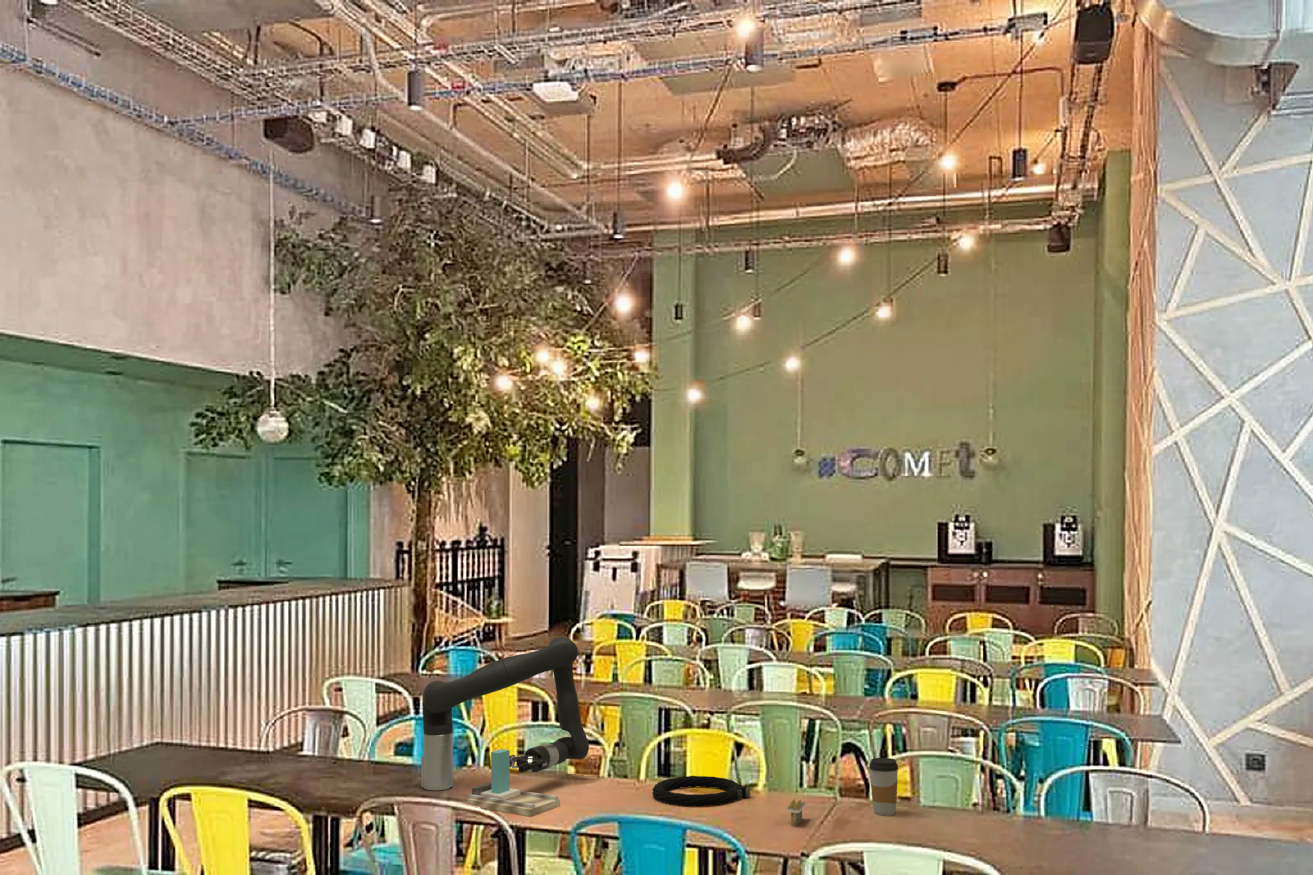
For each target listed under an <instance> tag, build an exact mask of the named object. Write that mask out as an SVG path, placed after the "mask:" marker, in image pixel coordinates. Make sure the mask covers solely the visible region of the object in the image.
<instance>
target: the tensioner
mask: <svg viewBox="0 0 1313 875" xmlns="http://www.w3.org/2000/svg"><path fill="white" fill-rule="evenodd" d="M510 753H511V752H510V749H504V748H501V749H498V750H494V751H490V765H491V766H490V779H491V781H490V782H491V790H488V791H485V792H482V793H481V796H485V797H491V798H497V799H504V800H507V799H510V798H513V797H515V796H518V795H520V791H521V789H518V788H511V785H510V784H511V783H510V780H511V779H510V778H511V776H510V774H511V773H510V770H511V769H510V768H511V767H510V756H511V755H510Z"/></svg>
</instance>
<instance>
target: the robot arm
mask: <svg viewBox="0 0 1313 875" xmlns="http://www.w3.org/2000/svg"><path fill="white" fill-rule="evenodd" d="M578 655H579V650H578V647H577V644H576V643H575V642H574V641H573V640H572V639H570V638H568V637H565V636H557V637H555V638H553V639H552V640H551V641H550V642H549V644H548V645H546V646H545V647H542V648H540V649H538V650H535V651H533V652H532V651H531V652H527V653H520V654H515V655H511V656H507V657H503V658H500V659H497V660H495V661H492V662H490V663H487V664H485V665H483V666H481V667H479V668H478V669H476V670H474V671H472V672H471V673H469V674H468V675H465V676H464V677H461V678H457V679H455V680H451V681H446V682H445V681H442V680H435V681H431V682H429V683H428V684H427V685H426V686H425V688H424V689H423V693H422V723H423V724H422V727H423V728H422V730H423V732H422V733H423V756H421V759H420V765H421V769H420V770H421V771H420V772H421V773H420V774H421V775H420V776H421V777H420V779H421V780H420V782H421V784H420V786H421V788H423V789H424V790H428V791H444V790H449V788H450V787H452V788H453V787H454V735H453V734H454V730H453V729H454V724H453V708H454V707H456V706H458V705H461V704H462V703H463V704H464V702H466V701H469V700H472V699H475V698H479V697H482V696H486V695H489V694H492V693H496V692H498V691H502V690H504V689H507V688H510V687H512V686H514V685H517V684H520V683H522V682H524V681H527V680H529V679H532V678H533V677H535V676H537V675H540V674H542V673H546V672H549V671H552V673H553V678H554V683H555V691H556V692H555V693H556V703H557V713H558V714H557V715H558V722H559V723H558V725H559V727H560V729H561V730H562V731H565V732H567V733H569V735H570V736H562V737H560V738H558V739H556V740H555V741H554V742H553V741H552V742H549V743H544V744H540V745H537V746H534V747H530V748H528V749H527V750H525V752H524V754H520V755H517V756H516V755H515V754H512V755H510V768H511V769H514V770H515V769H518V773H520V774H522V773H526V772H531V773H538V772H542V771H545V770H547V769H550V768H552V767H554V766H556V765H561V764H562V763H564V762H565V761H566V760H583V759H585V758H586V757H587V756H588V753H589V749H590V744H589V740H588V738H587V734H586V732H585V729H584V727H583V725H582V721H581V720H582V719H581V713H580V712H581V710H580V702H579V699H578V694H577V690H576V684H575V679H574V670H573V668H574V662H575V661H576V660H577V659H578V658H577V657H578ZM515 764H516V765H515ZM450 789H451V788H450Z"/></svg>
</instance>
